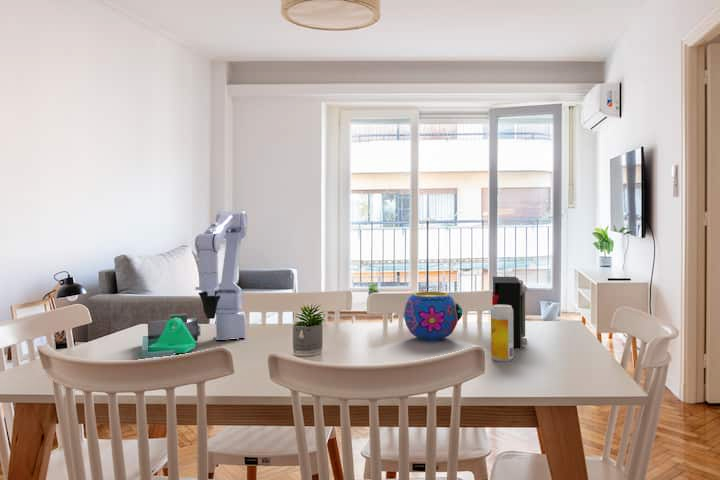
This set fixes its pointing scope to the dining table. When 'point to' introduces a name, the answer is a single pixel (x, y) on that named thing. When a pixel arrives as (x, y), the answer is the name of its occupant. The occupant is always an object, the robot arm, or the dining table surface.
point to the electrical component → (512, 304)
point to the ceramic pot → (431, 315)
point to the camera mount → (174, 338)
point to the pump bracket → (146, 354)
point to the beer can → (502, 332)
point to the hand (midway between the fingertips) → (209, 316)
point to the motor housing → (158, 326)
